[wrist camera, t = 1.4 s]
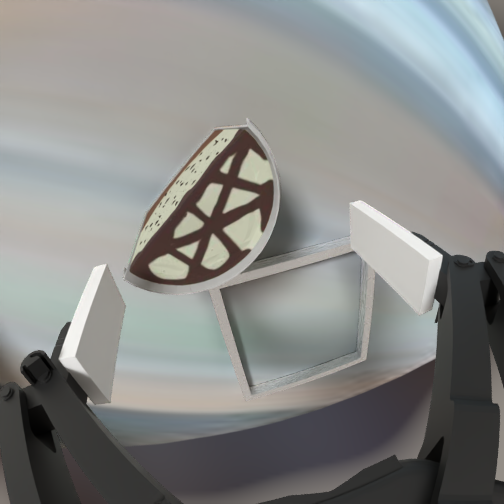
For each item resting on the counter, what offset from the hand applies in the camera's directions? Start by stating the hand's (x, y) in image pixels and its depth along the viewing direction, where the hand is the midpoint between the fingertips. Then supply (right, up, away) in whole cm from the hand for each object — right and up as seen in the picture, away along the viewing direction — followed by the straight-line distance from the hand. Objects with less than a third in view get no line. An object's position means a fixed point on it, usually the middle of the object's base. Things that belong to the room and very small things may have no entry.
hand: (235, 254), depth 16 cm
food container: (-3, +5, +11) cm, 12 cm away
